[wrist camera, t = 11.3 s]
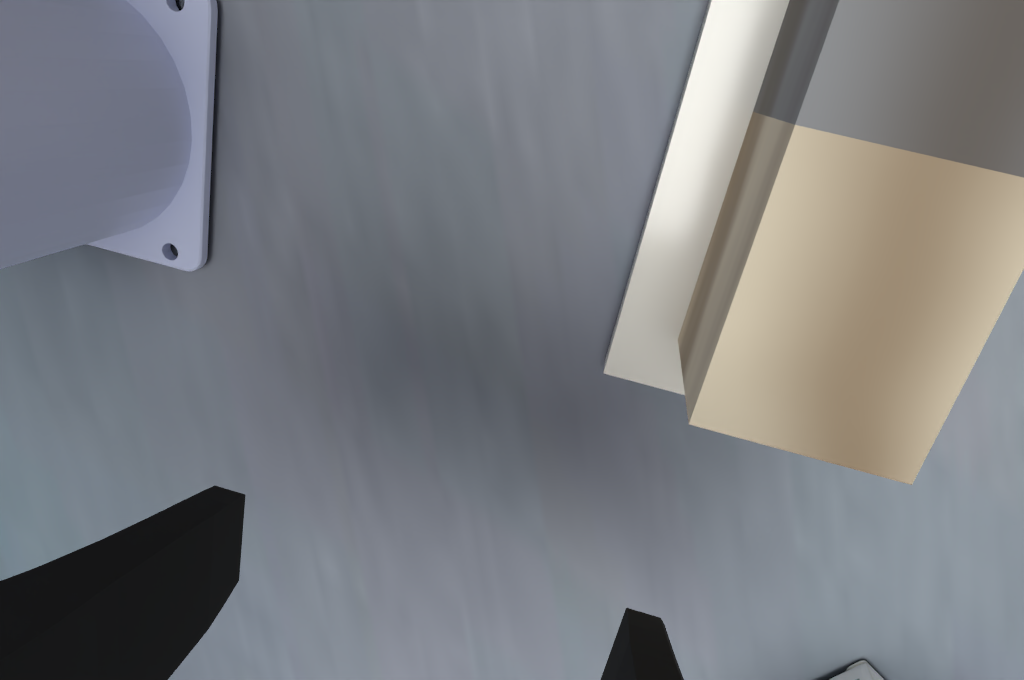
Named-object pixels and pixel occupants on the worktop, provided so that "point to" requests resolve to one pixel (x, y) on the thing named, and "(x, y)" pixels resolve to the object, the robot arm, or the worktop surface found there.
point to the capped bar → (864, 232)
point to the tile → (692, 187)
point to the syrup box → (859, 672)
